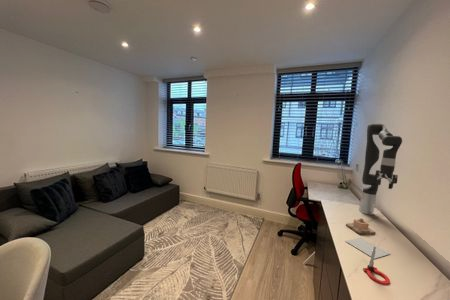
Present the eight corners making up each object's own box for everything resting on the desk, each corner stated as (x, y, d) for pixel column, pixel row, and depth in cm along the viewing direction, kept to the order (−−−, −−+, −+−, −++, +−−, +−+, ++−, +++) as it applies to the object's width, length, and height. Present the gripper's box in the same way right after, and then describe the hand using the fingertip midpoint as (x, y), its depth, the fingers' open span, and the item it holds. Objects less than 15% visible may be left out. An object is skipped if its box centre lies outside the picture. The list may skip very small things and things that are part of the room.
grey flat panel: (369, 236, 127) (370, 235, 127) (418, 261, 104) (419, 259, 104) (345, 242, 119) (345, 240, 119) (392, 270, 96) (392, 269, 96)
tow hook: (394, 285, 87) (376, 269, 96) (400, 259, 85) (381, 245, 94) (377, 286, 86) (360, 270, 95) (383, 260, 84) (365, 246, 93)
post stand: (345, 225, 139) (347, 214, 139) (360, 225, 141) (361, 214, 140) (359, 234, 128) (361, 223, 127) (375, 234, 130) (377, 222, 129)
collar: (353, 225, 137) (353, 219, 136) (360, 225, 138) (361, 219, 137) (360, 229, 131) (361, 223, 130) (367, 229, 132) (368, 223, 131)
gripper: (403, 166, 129) (398, 190, 131) (382, 162, 143) (379, 183, 145) (393, 166, 128) (389, 190, 130) (374, 162, 142) (370, 183, 144)
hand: (384, 186), depth 138 cm, fingers open, 8 cm apart
